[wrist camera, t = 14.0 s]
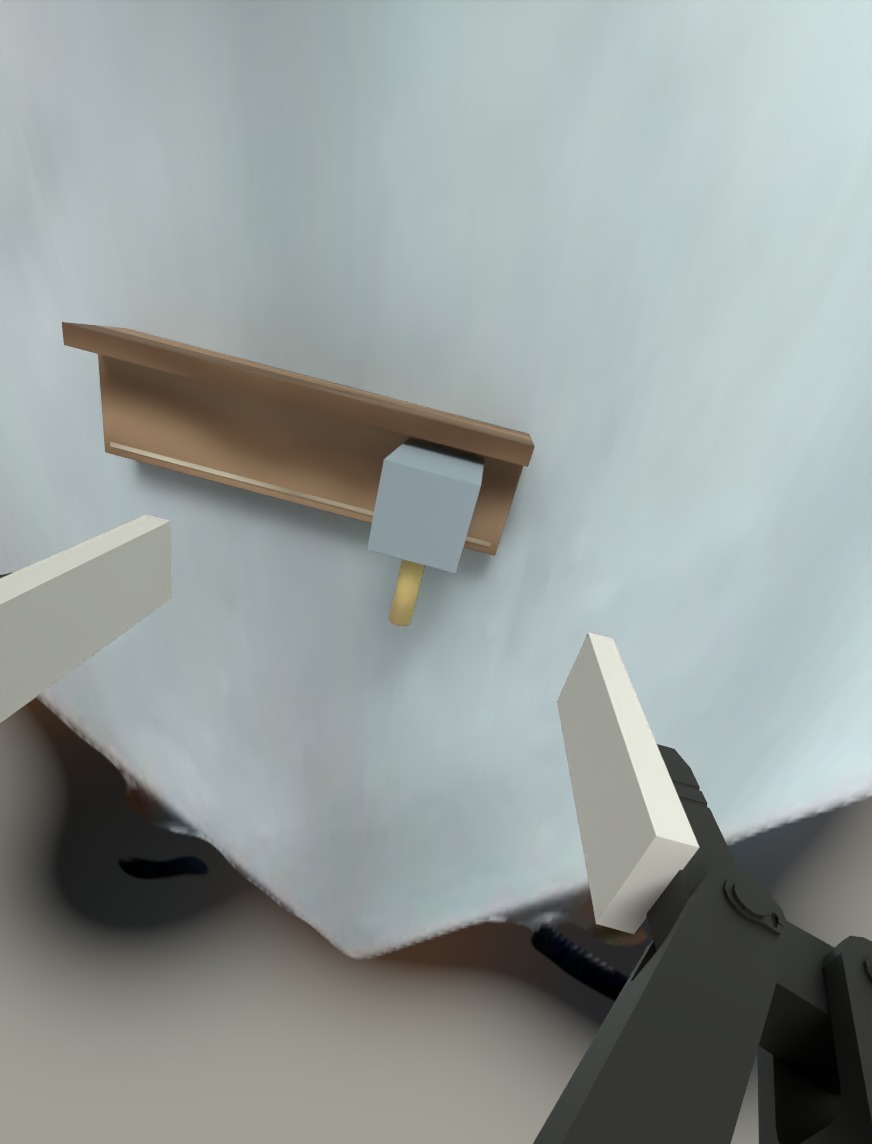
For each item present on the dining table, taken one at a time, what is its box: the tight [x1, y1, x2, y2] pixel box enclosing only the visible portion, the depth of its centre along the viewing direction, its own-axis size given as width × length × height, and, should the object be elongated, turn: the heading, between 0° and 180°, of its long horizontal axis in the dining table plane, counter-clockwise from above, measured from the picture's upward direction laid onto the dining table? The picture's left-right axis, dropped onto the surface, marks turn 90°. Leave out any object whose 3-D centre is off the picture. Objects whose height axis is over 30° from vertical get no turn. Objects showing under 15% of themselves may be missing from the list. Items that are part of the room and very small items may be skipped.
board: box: [62, 322, 534, 556], centre depth 30 cm, size 8×28×5 cm, turn 77°
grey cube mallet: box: [367, 439, 484, 626], centre depth 28 cm, size 10×5×7 cm, turn 166°
